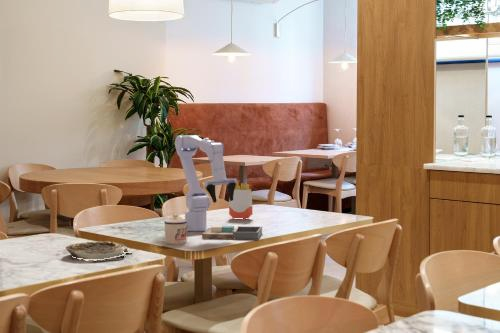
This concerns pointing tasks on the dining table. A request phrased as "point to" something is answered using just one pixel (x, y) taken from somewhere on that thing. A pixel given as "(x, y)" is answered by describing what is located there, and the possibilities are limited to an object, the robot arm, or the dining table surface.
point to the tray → (248, 233)
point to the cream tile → (216, 228)
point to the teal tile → (227, 228)
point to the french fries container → (241, 202)
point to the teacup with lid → (175, 230)
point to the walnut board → (218, 234)
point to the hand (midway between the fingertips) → (223, 201)
